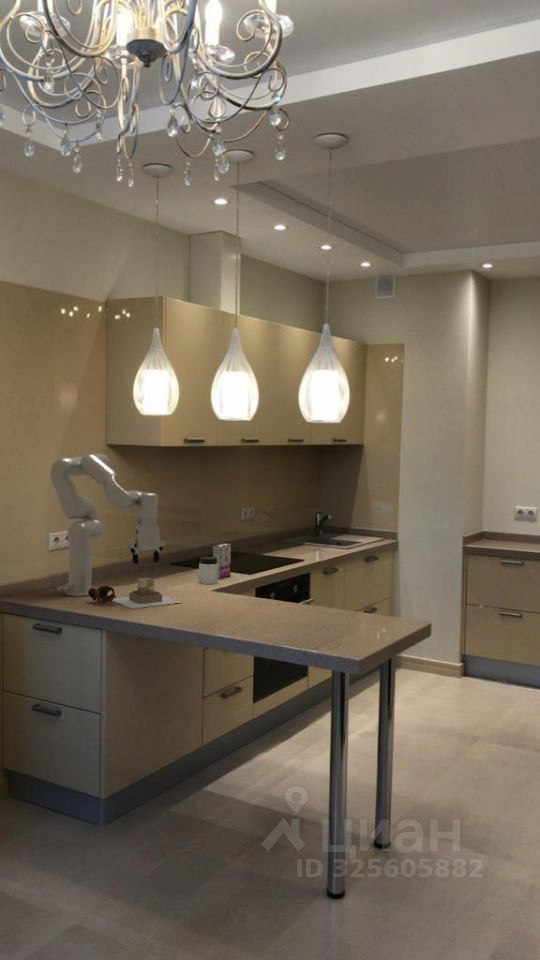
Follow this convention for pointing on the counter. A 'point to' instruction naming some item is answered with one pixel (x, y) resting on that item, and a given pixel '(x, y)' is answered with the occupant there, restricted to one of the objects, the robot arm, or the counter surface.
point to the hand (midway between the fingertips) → (145, 562)
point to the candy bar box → (223, 559)
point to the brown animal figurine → (102, 594)
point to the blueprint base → (137, 605)
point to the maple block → (145, 585)
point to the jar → (208, 570)
